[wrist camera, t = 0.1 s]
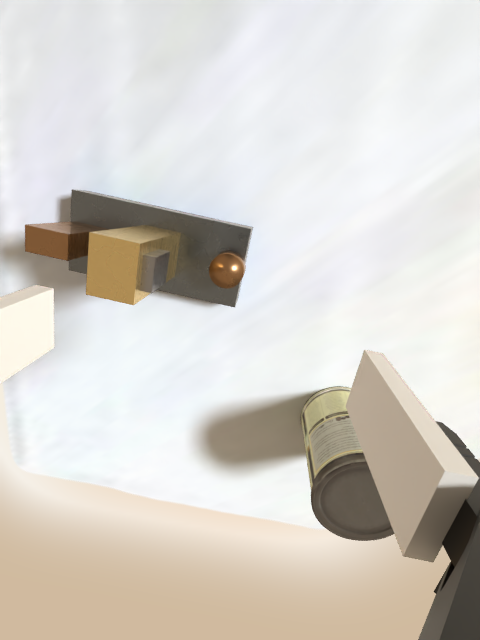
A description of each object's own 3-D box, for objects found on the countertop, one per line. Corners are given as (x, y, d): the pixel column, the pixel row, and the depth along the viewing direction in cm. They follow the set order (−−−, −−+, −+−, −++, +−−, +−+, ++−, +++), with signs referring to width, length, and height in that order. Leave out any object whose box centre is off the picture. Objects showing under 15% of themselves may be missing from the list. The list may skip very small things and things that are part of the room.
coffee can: (392, 419, 46) (442, 507, 32) (334, 461, 49) (358, 556, 35) (341, 370, 44) (371, 441, 31) (284, 416, 47) (289, 498, 34)
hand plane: (88, 191, 40) (19, 184, 29) (255, 227, 39) (249, 235, 28) (84, 265, 43) (20, 284, 32) (240, 300, 42) (228, 331, 31)
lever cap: (145, 224, 37) (89, 232, 26) (189, 234, 37) (152, 246, 25) (140, 269, 38) (85, 294, 27) (182, 278, 38) (145, 307, 27)
